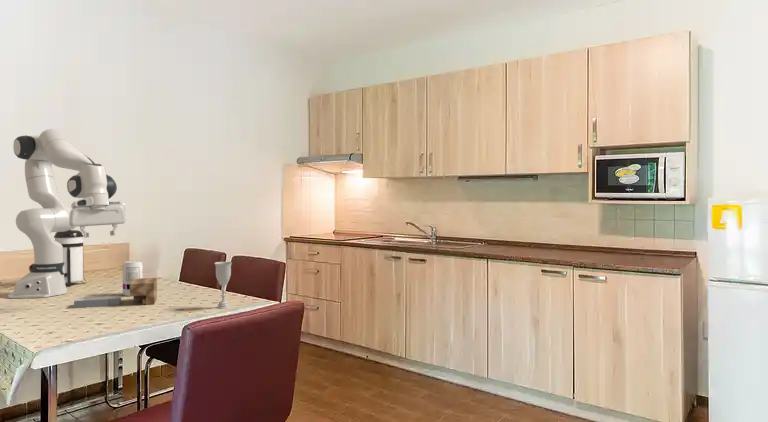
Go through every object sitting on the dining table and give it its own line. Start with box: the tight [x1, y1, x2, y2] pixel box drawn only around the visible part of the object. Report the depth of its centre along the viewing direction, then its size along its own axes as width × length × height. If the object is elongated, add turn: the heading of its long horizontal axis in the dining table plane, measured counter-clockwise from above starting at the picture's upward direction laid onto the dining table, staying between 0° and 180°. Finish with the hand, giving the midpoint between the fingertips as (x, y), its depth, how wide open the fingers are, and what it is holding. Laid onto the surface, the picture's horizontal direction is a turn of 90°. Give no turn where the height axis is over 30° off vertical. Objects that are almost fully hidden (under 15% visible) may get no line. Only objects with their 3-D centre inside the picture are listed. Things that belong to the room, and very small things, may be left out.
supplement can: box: [122, 260, 144, 297], centre depth 239 cm, size 8×8×15 cm
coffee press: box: [53, 229, 87, 288], centre depth 263 cm, size 17×16×30 cm
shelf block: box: [129, 277, 158, 306], centre depth 223 cm, size 9×14×9 cm, turn 19°
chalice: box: [214, 261, 233, 309], centre depth 213 cm, size 7×7×18 cm
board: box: [73, 295, 122, 309], centre depth 216 cm, size 16×7×3 cm, turn 109°
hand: (99, 236), depth 212 cm, fingers open, 8 cm apart
